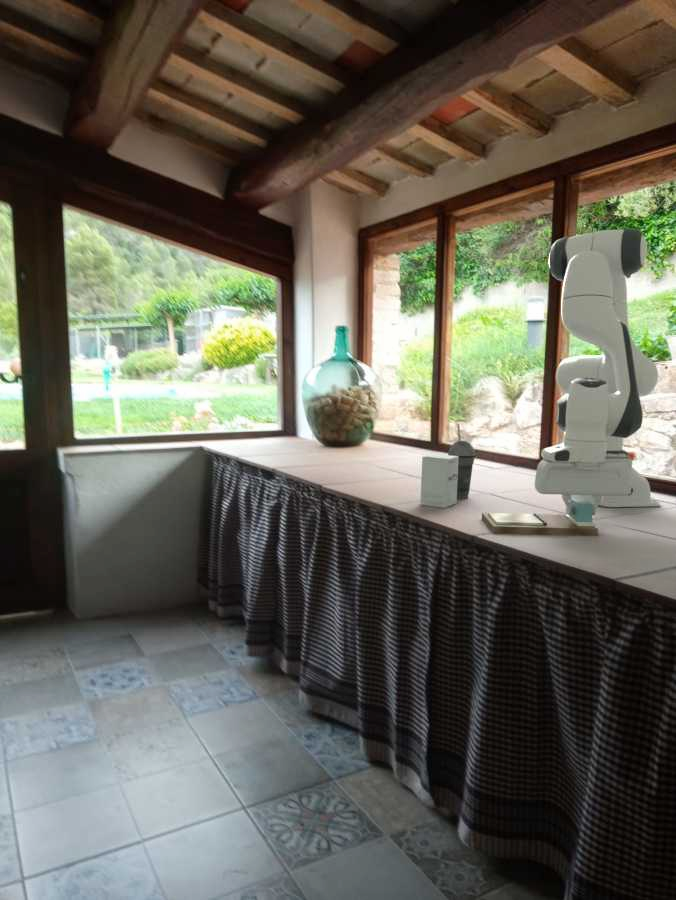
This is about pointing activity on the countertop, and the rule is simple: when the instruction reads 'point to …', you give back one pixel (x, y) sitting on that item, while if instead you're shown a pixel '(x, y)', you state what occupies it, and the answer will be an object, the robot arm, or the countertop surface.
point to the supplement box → (439, 480)
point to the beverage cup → (463, 465)
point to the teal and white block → (581, 513)
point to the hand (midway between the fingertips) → (580, 514)
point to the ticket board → (535, 524)
